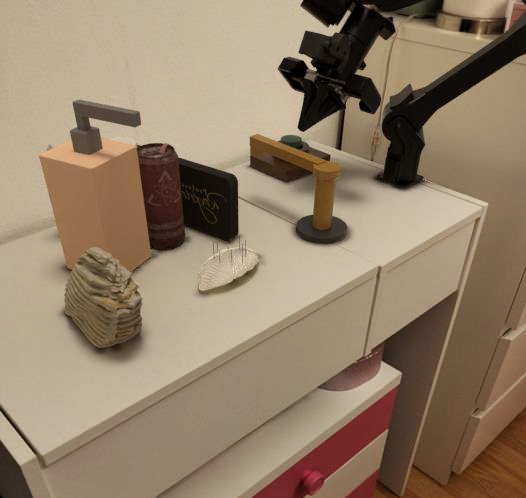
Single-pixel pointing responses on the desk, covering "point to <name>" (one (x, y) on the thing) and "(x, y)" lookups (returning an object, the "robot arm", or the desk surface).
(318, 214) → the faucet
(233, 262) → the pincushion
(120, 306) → the fossil tooth
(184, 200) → the nameplate
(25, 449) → the desk surface
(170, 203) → the can
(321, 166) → the spout
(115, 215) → the soap dispenser
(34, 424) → the desk surface
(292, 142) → the button
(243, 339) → the desk surface
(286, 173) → the button box
